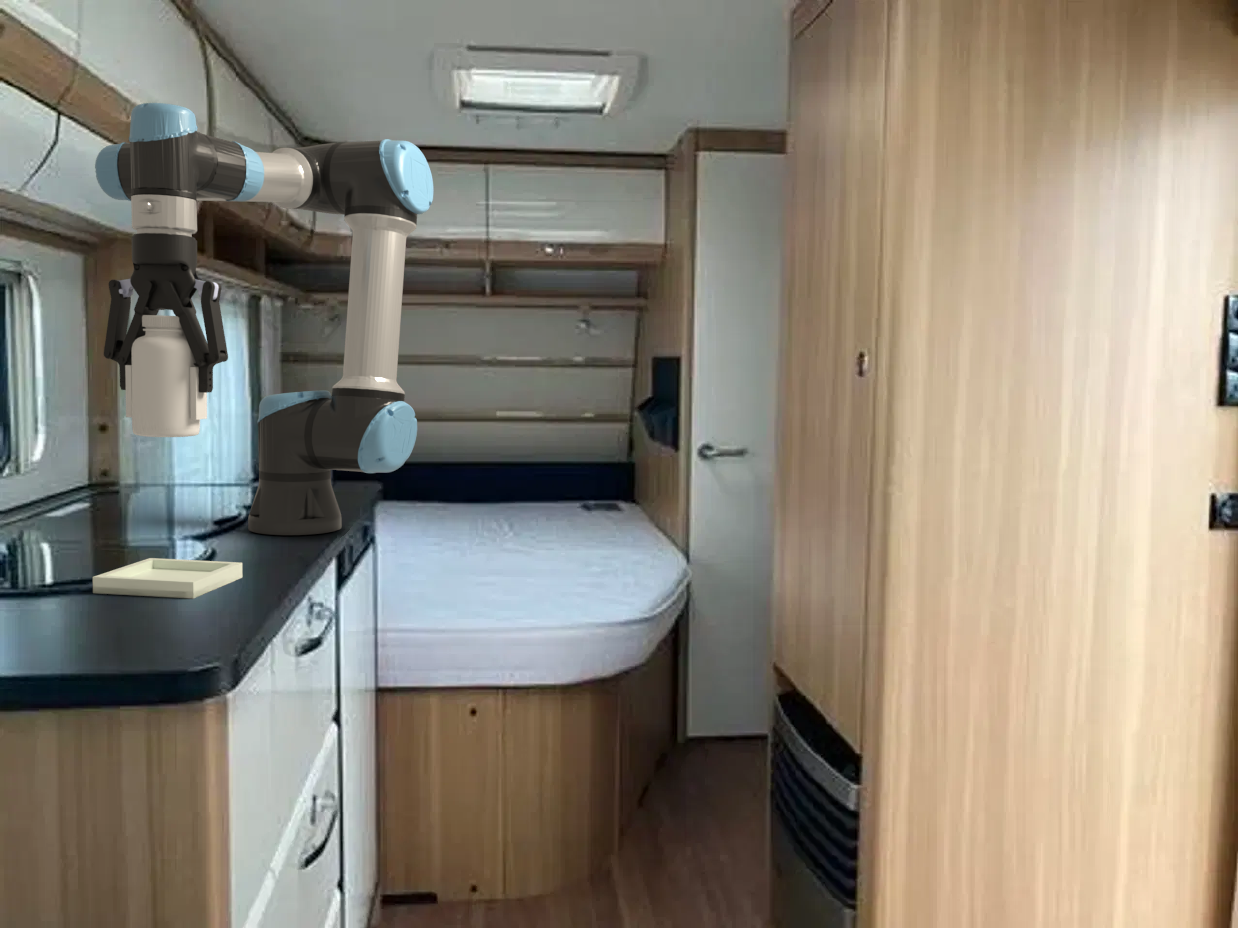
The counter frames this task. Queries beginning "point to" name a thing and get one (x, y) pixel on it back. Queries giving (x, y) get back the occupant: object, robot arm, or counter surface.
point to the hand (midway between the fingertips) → (166, 417)
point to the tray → (167, 578)
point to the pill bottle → (162, 380)
